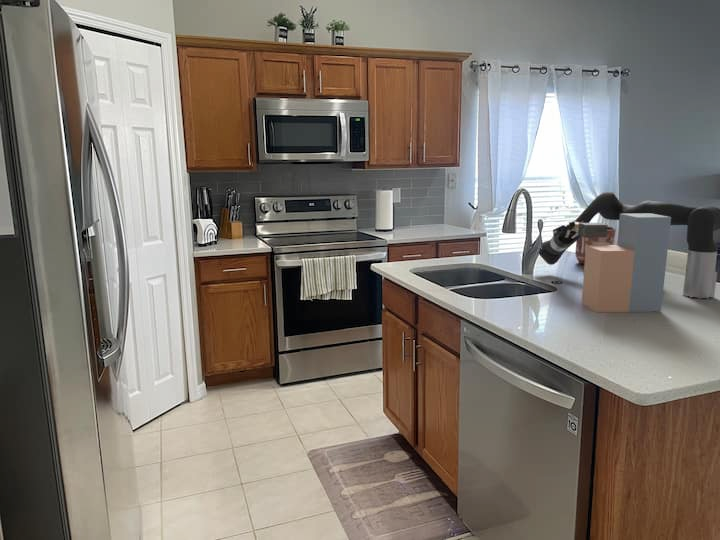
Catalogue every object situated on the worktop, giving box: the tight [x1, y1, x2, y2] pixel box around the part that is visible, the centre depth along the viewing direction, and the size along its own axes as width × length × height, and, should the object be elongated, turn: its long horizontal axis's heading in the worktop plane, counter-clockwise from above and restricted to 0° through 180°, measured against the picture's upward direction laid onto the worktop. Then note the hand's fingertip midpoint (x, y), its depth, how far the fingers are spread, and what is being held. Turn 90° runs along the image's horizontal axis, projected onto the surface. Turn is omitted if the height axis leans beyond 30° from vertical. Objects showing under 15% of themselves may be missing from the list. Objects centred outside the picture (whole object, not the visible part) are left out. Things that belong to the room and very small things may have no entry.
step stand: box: [581, 213, 671, 313], centre depth 188 cm, size 22×12×32 cm, turn 91°
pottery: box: [575, 226, 617, 266], centre depth 264 cm, size 18×18×18 cm
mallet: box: [568, 221, 609, 238], centre depth 207 cm, size 21×8×4 cm, turn 1°
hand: (578, 223), depth 212 cm, fingers closed on mallet, 3 cm apart
